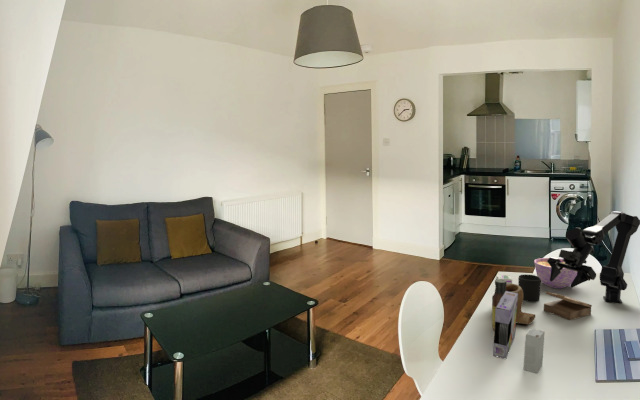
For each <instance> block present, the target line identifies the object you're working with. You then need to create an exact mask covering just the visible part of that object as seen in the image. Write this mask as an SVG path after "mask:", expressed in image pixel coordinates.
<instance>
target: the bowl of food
mask: <svg viewBox="0 0 640 400" xmlns="http://www.w3.org/2000/svg"><path fill="white" fill-rule="evenodd" d="M549 258H550V257H542V258H540V257H539V258H536V259H534V260H533V262H534V268H535V272H536V276H538V277H539V278H540V279H541V283H543V284H544V285H545V286H547V287H550V288H553V289H564V288H565V287H570V285H571V283H572V282H573V280H574V279H575V277H576V276H577V271H573V270H569V269H566V268H563V269H562V270H560V271H561V273H560V274H559V275H558V276H557V277H556V278H555V279H554V280H553V281H552V282H551V281H550V275H551V266H550V265H549V263H548V262H547V260H548V259H549ZM558 259H559V260H560V261H561V262H562V263H565V262H564V261H563V258H558Z"/></svg>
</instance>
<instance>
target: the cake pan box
mask: <svg viewBox="0 0 640 400" xmlns="http://www.w3.org/2000/svg"><path fill="white" fill-rule="evenodd" d="M517 300H518V293H513V292H508V291H505V293H504V295H503V296H502V297H501V299H500V301H499V303H498V305H497V307H496V310H495V329H494V331H493V343H492V348H493V349H492V356H493V357H496V356H498V357H497V358H500V357H501V358H502V359H504V358H506V359H507V357H508V355H509V353H510V350H511V347H512V345H513V343H514V340H515V336H516V326H517V325H516V324H517V323H516V312H517ZM508 352H509V353H508Z"/></svg>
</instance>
